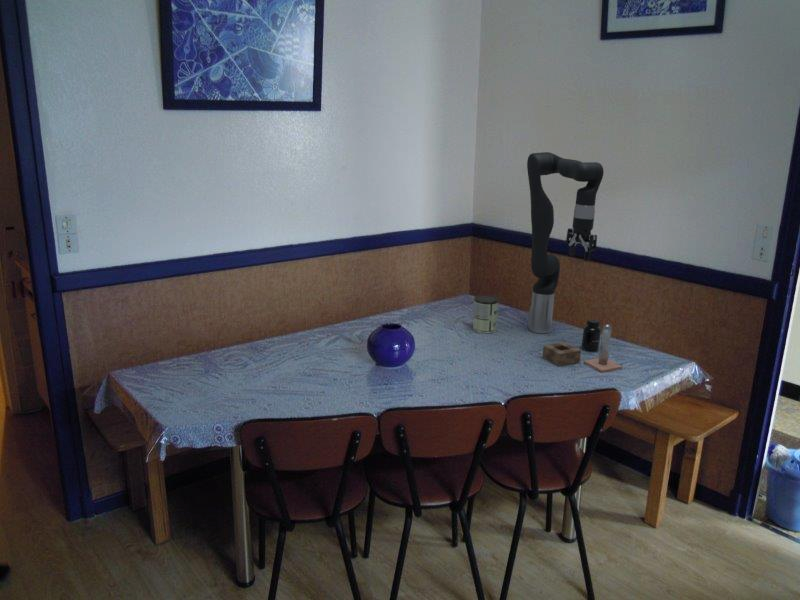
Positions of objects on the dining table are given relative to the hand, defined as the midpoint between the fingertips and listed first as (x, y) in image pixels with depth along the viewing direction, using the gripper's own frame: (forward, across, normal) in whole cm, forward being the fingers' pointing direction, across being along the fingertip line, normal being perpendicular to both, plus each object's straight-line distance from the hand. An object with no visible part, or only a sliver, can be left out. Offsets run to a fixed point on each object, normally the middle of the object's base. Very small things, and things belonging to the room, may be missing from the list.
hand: (579, 258), depth 263 cm
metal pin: (+37, +17, +2) cm, 41 cm away
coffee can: (+38, -35, -17) cm, 55 cm away
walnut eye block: (+38, +6, -9) cm, 40 cm away
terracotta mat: (+38, +17, +2) cm, 42 cm away
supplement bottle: (+38, +1, +10) cm, 40 cm away
